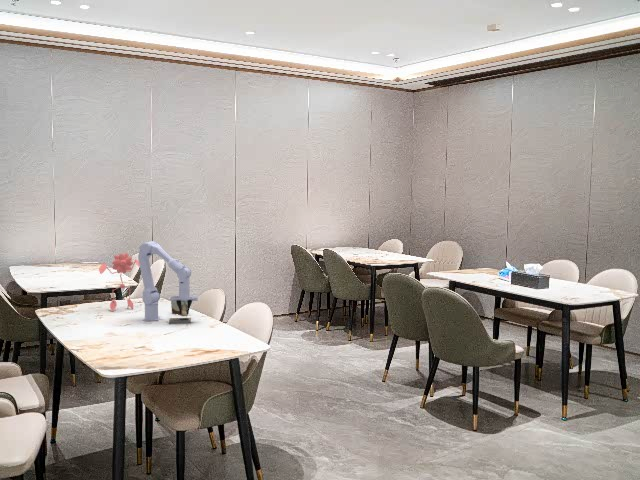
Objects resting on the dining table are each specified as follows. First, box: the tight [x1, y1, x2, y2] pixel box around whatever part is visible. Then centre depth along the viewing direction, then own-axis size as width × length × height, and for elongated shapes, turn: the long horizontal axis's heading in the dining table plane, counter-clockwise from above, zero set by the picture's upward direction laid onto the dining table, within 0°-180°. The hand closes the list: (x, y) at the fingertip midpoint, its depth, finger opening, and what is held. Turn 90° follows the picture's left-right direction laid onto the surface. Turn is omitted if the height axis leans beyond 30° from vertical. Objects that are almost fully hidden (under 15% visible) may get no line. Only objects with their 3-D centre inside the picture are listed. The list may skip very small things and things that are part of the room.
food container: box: [169, 295, 187, 316], centre depth 368 cm, size 12×6×10 cm, turn 58°
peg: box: [180, 305, 188, 317], centre depth 346 cm, size 3×3×6 cm
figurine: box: [98, 252, 141, 314], centre depth 372 cm, size 15×26×35 cm, turn 122°
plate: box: [168, 317, 192, 325], centre depth 346 cm, size 8×12×2 cm
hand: (184, 313), depth 346 cm, fingers closed on peg, 3 cm apart
